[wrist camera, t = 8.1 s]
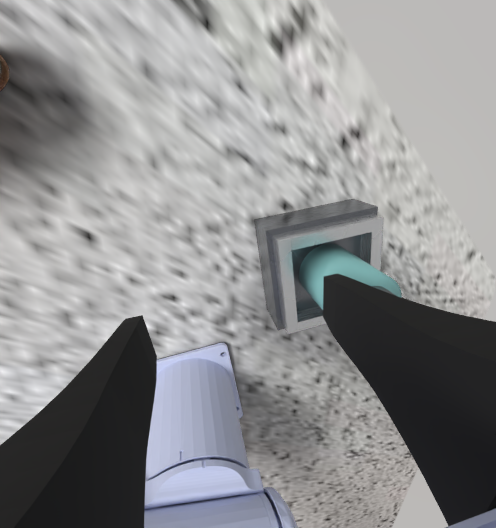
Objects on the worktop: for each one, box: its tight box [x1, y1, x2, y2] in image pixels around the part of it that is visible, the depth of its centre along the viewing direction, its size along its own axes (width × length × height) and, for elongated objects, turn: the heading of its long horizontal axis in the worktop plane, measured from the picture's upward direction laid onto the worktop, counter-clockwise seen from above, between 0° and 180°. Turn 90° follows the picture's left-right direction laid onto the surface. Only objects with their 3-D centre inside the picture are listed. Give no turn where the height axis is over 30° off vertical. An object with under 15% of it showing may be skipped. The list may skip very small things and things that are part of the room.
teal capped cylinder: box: [299, 244, 401, 310], centre depth 17 cm, size 4×4×6 cm
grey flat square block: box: [254, 199, 384, 334], centre depth 21 cm, size 8×8×4 cm
